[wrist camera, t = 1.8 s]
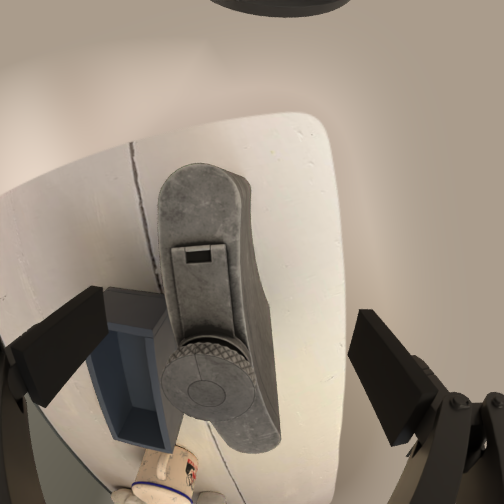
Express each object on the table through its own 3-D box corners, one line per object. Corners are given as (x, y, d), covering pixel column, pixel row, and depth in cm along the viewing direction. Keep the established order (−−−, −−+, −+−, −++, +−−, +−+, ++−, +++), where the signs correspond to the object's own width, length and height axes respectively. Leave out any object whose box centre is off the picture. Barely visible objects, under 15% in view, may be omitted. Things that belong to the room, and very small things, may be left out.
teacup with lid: (199, 473, 35) (189, 526, 24) (148, 461, 35) (131, 511, 24) (202, 438, 32) (189, 504, 21) (141, 424, 32) (116, 484, 21)
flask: (235, 325, 27) (212, 486, 10) (207, 179, 24) (96, 179, 7) (271, 320, 27) (286, 483, 10) (248, 172, 24) (227, 146, 6)
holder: (109, 286, 27) (74, 314, 20) (175, 295, 27) (152, 329, 20) (130, 403, 31) (113, 439, 24) (183, 414, 31) (172, 454, 24)
